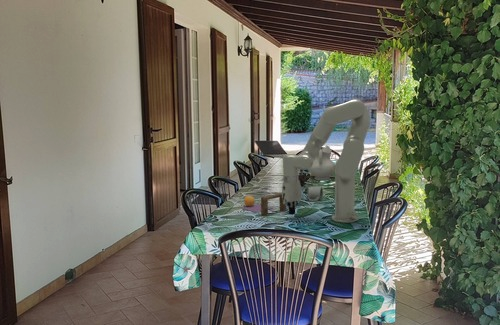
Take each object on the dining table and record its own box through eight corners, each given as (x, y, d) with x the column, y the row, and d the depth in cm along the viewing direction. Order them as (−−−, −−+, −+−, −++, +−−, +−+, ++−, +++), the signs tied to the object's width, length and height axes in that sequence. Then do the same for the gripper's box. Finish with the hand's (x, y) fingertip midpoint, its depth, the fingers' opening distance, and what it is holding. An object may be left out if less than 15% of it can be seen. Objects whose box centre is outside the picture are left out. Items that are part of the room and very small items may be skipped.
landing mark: (273, 208, 248) (273, 208, 248) (255, 212, 240) (255, 212, 240) (258, 204, 258) (258, 203, 258) (240, 208, 250) (240, 207, 250)
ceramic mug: (309, 197, 273) (309, 185, 271) (323, 198, 270) (323, 185, 268) (305, 201, 263) (305, 189, 262) (319, 202, 260) (319, 189, 259)
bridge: (286, 211, 242) (285, 193, 240) (264, 216, 233) (264, 198, 231) (282, 210, 244) (282, 192, 243) (261, 215, 235) (260, 197, 234)
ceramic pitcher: (337, 183, 317) (340, 148, 314) (309, 181, 318) (312, 147, 314) (332, 178, 339) (334, 145, 335) (306, 176, 339) (308, 143, 335)
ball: (253, 207, 256) (258, 201, 252) (245, 209, 252) (249, 202, 248) (248, 199, 259) (253, 193, 255) (240, 201, 255) (244, 194, 251)
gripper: (285, 181, 218) (286, 218, 221) (306, 177, 227) (307, 212, 230) (274, 180, 224) (276, 215, 226) (296, 175, 233) (297, 210, 236)
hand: (292, 213), depth 228 cm, fingers closed
